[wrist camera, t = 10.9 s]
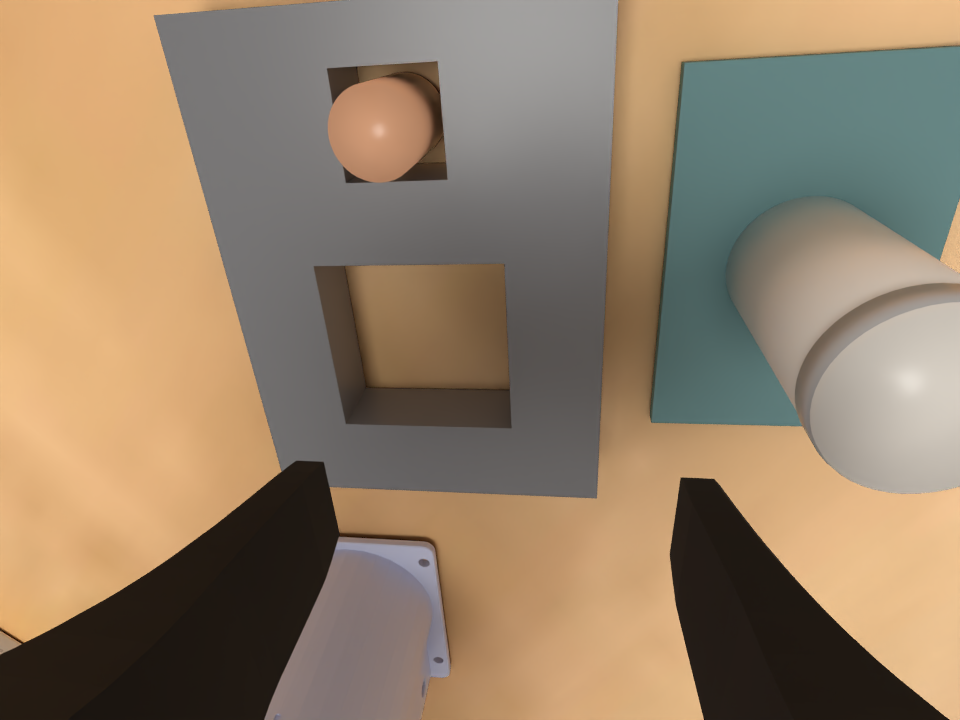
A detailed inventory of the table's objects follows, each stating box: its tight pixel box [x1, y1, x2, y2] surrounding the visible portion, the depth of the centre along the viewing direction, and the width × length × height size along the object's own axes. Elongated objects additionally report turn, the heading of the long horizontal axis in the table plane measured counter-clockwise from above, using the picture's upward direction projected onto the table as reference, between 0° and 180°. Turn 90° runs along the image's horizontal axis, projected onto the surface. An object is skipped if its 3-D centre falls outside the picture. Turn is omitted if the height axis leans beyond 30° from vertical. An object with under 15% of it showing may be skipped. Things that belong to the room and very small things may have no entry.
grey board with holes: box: [154, 0, 618, 498], centre depth 20 cm, size 16×12×2 cm
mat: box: [650, 46, 960, 426], centre depth 19 cm, size 12×8×1 cm, turn 4°
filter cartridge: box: [726, 196, 960, 494], centre depth 15 cm, size 4×4×8 cm
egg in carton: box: [328, 72, 444, 183], centre depth 17 cm, size 2×2×4 cm
